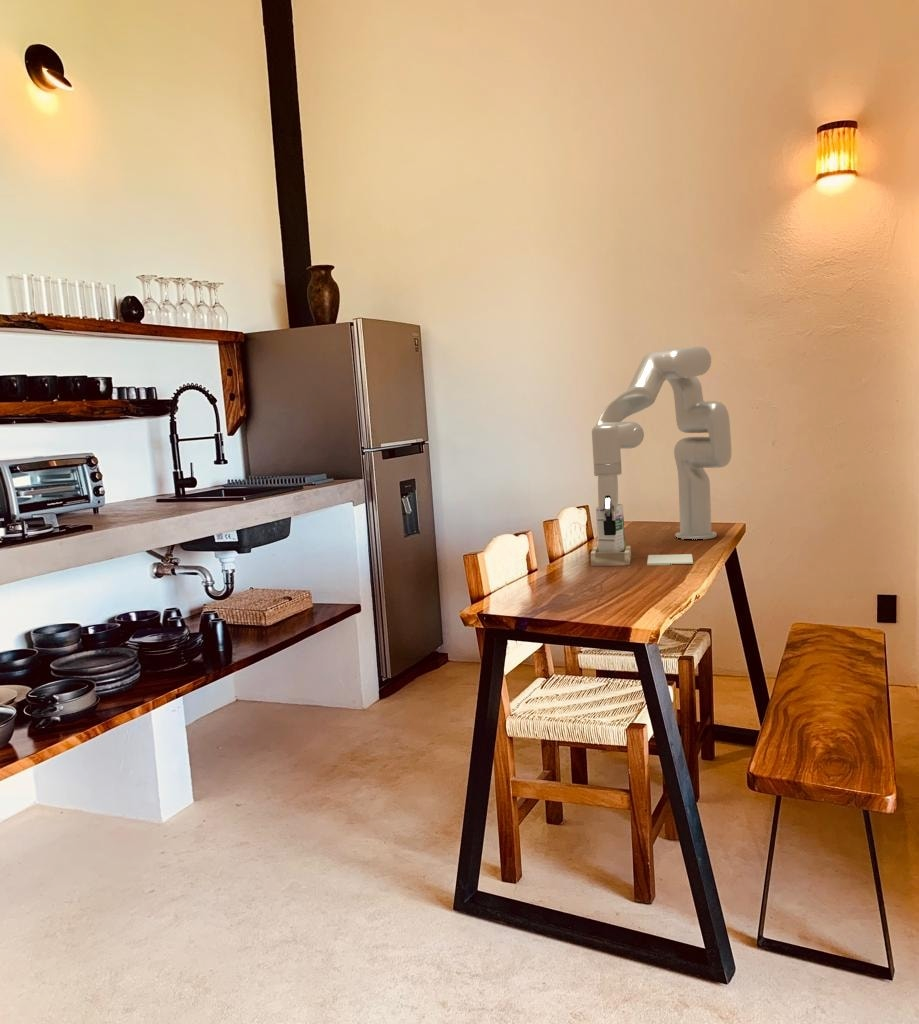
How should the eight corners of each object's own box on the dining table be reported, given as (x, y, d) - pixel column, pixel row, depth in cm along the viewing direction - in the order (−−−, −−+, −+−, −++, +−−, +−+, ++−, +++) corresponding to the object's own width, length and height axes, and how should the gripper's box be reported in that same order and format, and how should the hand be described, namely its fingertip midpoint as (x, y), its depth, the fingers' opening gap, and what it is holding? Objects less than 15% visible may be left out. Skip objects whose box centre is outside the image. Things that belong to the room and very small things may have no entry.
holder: (594, 558, 246) (593, 546, 245) (631, 558, 243) (630, 545, 243) (591, 565, 236) (590, 553, 235) (629, 565, 233) (628, 552, 233)
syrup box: (616, 558, 236) (614, 506, 234) (597, 557, 239) (595, 506, 237) (626, 554, 240) (623, 503, 238) (607, 553, 244) (604, 503, 242)
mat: (648, 557, 243) (648, 555, 243) (691, 556, 240) (691, 554, 240) (647, 565, 231) (647, 563, 231) (693, 564, 228) (693, 562, 228)
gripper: (596, 467, 246) (599, 527, 248) (591, 473, 229) (595, 538, 231) (623, 465, 244) (626, 526, 246) (619, 472, 227) (623, 537, 230)
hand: (611, 532), depth 239 cm, fingers closed on syrup box, 7 cm apart
